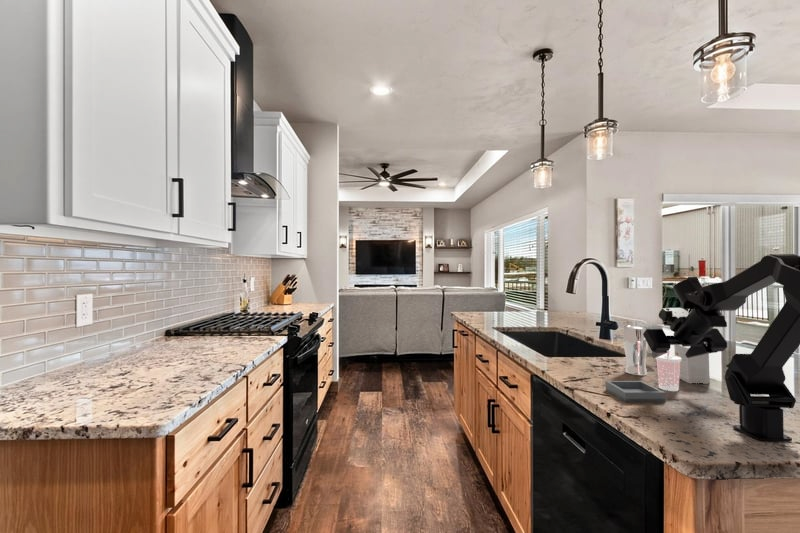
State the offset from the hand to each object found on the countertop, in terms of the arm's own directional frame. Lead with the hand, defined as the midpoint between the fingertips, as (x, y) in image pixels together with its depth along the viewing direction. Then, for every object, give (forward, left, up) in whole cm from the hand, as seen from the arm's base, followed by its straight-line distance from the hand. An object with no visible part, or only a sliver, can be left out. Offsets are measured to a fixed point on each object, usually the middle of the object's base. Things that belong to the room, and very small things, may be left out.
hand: (669, 356), depth 107 cm
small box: (+9, -12, -9) cm, 18 cm away
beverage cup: (+1, 0, -9) cm, 10 cm away
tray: (-5, +13, -9) cm, 17 cm away
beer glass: (+17, 0, -9) cm, 19 cm away
